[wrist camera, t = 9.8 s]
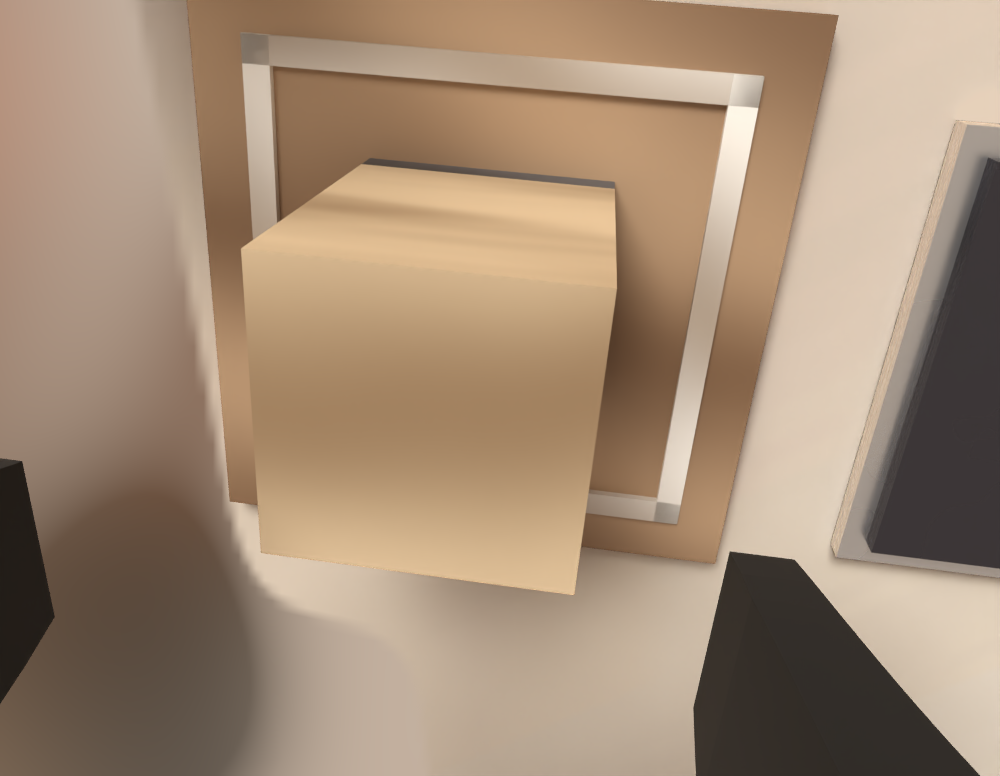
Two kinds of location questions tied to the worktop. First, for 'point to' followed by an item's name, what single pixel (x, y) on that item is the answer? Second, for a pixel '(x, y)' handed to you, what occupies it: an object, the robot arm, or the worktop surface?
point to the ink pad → (939, 388)
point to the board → (546, 151)
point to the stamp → (432, 371)
